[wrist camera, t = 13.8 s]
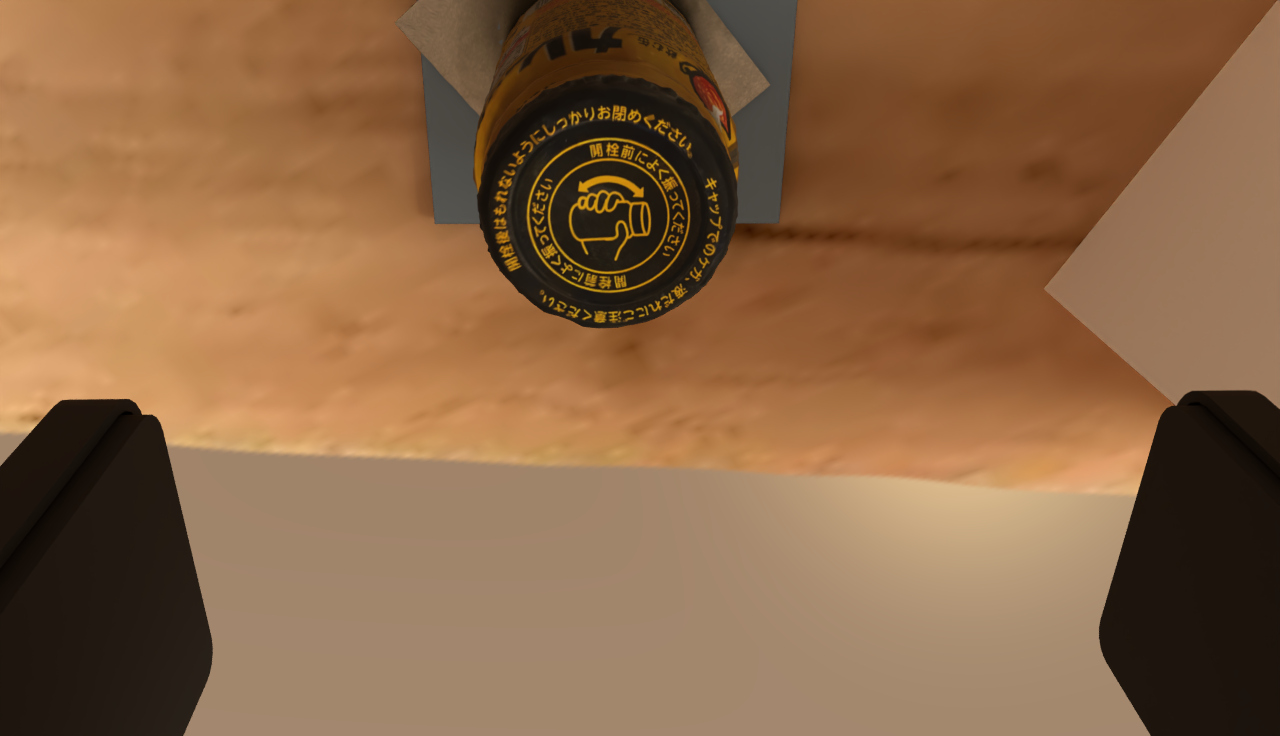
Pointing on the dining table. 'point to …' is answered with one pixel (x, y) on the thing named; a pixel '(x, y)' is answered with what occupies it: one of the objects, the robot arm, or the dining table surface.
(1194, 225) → the milk
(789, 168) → the dining table surface
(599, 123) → the condiment
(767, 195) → the slate mat
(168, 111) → the dining table surface
